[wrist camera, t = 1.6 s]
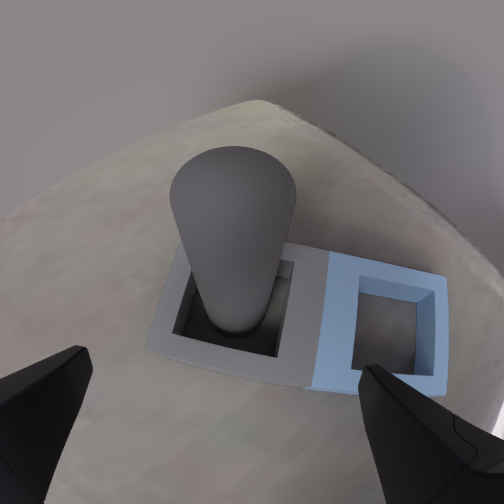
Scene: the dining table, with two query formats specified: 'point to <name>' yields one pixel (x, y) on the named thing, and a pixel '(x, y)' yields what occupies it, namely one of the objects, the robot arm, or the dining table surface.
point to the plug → (233, 231)
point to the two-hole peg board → (314, 322)
